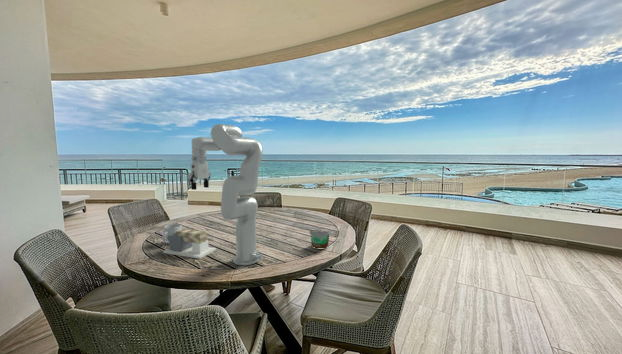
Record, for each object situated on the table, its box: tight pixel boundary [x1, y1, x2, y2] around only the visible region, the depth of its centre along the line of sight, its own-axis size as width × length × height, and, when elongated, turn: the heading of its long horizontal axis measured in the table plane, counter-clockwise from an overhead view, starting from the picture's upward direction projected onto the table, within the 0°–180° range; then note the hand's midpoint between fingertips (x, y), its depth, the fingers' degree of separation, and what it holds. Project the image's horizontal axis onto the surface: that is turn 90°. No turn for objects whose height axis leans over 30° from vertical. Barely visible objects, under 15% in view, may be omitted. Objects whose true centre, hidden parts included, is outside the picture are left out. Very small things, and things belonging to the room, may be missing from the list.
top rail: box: [176, 228, 207, 244], centre depth 125 cm, size 16×4×5 cm, turn 72°
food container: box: [308, 228, 331, 249], centre depth 130 cm, size 12×6×10 cm, turn 76°
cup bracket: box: [162, 233, 217, 260], centre depth 125 cm, size 24×12×9 cm, turn 72°
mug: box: [161, 223, 183, 245], centre depth 137 cm, size 13×9×10 cm
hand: (200, 188), depth 138 cm, fingers open, 9 cm apart
